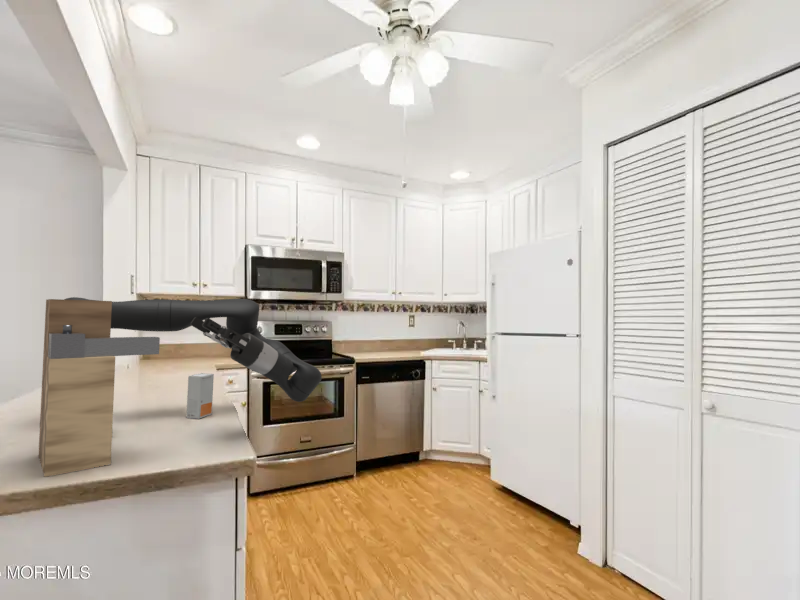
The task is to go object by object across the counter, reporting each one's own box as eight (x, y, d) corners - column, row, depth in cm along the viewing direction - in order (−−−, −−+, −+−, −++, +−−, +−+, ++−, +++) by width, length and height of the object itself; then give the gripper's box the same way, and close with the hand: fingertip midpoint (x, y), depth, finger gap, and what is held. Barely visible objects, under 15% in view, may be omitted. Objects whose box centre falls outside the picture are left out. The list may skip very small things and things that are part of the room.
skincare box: (199, 419, 121) (200, 376, 121) (185, 418, 121) (187, 375, 122) (212, 414, 127) (214, 373, 127) (200, 413, 127) (201, 372, 128)
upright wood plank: (38, 455, 88) (46, 299, 89) (97, 446, 95) (103, 301, 96) (44, 476, 77) (53, 298, 78) (110, 464, 84) (117, 300, 85)
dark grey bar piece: (47, 356, 82) (49, 324, 82) (153, 352, 94) (154, 324, 95) (50, 359, 78) (51, 325, 79) (160, 354, 91) (161, 325, 91)
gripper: (250, 339, 116) (197, 307, 107) (275, 343, 105) (218, 307, 96) (235, 364, 113) (179, 333, 104) (259, 370, 103) (199, 336, 94)
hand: (198, 321), depth 100 cm, fingers open, 8 cm apart
